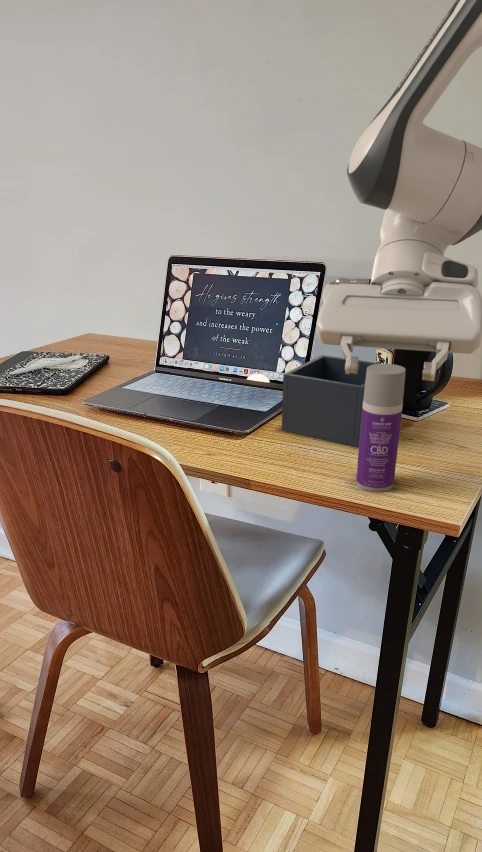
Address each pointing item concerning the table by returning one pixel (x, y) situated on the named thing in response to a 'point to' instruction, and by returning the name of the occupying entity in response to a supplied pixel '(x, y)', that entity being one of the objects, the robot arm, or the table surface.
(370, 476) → the container
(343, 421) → the bin
